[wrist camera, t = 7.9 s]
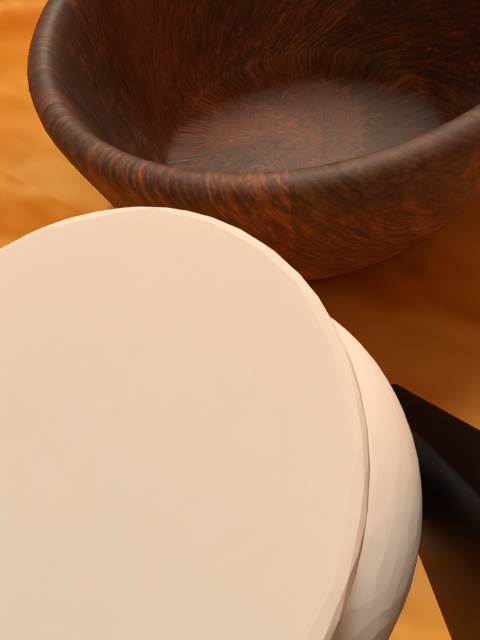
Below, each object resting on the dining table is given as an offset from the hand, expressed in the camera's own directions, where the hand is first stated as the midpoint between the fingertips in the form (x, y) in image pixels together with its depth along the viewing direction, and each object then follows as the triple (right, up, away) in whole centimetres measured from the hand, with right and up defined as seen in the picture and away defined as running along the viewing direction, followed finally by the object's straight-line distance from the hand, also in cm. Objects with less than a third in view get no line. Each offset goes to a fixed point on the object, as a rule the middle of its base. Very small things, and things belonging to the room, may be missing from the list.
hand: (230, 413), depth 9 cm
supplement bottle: (+1, -4, +6) cm, 7 cm away
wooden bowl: (+4, +13, +18) cm, 22 cm away
